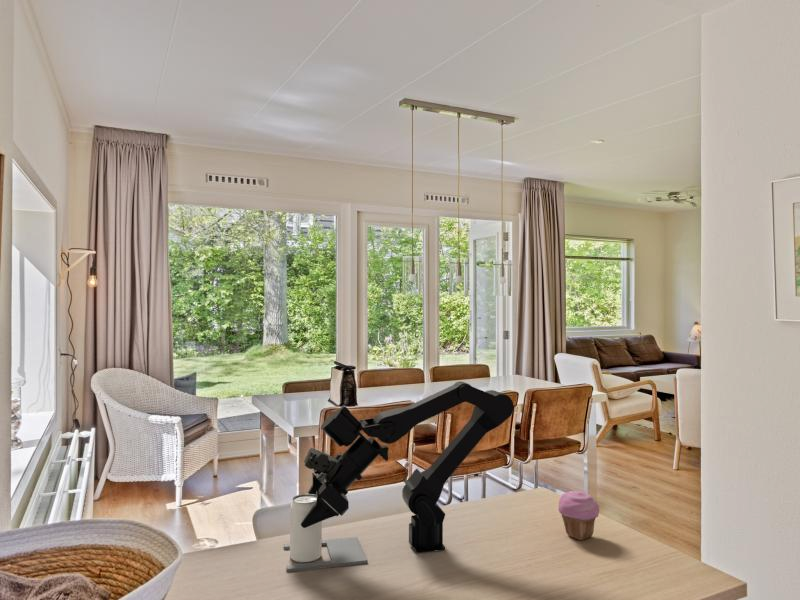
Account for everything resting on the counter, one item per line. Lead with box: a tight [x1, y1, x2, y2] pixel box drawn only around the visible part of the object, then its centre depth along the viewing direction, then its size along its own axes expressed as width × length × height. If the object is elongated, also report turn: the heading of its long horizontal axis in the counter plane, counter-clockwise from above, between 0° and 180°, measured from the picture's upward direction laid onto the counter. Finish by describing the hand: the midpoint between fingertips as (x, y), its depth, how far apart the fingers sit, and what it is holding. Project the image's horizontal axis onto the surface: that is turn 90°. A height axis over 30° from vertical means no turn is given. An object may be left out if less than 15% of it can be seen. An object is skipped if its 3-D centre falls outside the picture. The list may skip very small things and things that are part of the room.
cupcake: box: [558, 490, 600, 541], centre depth 127 cm, size 9×9×10 cm
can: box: [289, 493, 323, 564], centre depth 116 cm, size 6×6×12 cm
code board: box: [283, 536, 369, 573], centre depth 117 cm, size 16×12×1 cm
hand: (301, 518), depth 116 cm, fingers open, 9 cm apart
